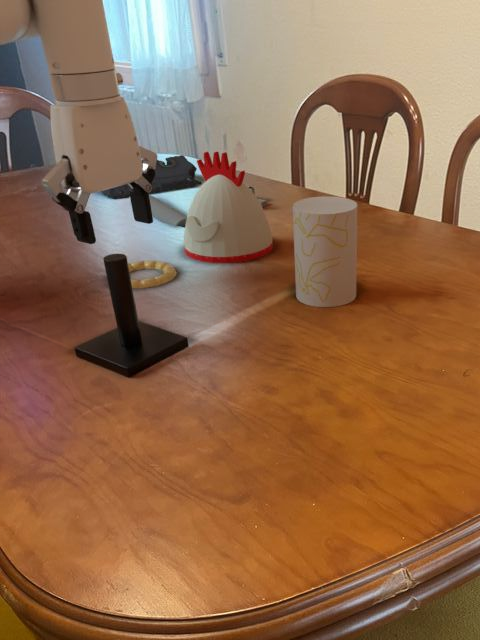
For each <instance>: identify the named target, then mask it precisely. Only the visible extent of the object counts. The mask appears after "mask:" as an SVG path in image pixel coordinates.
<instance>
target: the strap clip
mask: <svg viewBox="0 0 480 640" xmlns="http://www.w3.org/2000/svg"><path fill="white" fill-rule="evenodd" d="M246 186H247V187H248V188H249V189H250V190H251V191H252V192H253V193H254V195H255V196H256V192H255V187H254V186H249V185H246ZM257 199H258V200H259V202H261V204H262V208H263V207H265V206H266V205H267V203H268V201H267V199H263V198H257Z"/></svg>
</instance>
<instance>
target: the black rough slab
mask: <svg viewBox="0 0 480 640" xmlns="http://www.w3.org/2000/svg"><path fill="white" fill-rule="evenodd" d="M141 160H142V159H141ZM164 160H165V161H166V162H165V161H163V160H159V159H157V162H156V168H155V169H154V170H155V177H154V179H153V181H152V184H151V186H152V190H151V192H149V195H153V194H159V193H166V192H172V191H178V190H185V189H189V188H195V187H197V186H198V185H202V181H201V180H198V179H196V178H195V177H196V172H197V169H198V168H197V166H195V165H194V163H192V162H191V161H189V160H188V159H187V158H186V157H185V155H183V154H181V155H173V156H169V157H165V159H164ZM142 168H143V160H142ZM130 191H133V189H132V188H131V187H130V186H129V185H128V184H125V185H121V186H118V187H114V188H111V189H107V190H104V191H100V192H99V193H101V194H102V195H103V196H105V197H108V198H111V199H114V198H130Z"/></svg>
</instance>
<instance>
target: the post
mask: <svg viewBox="0 0 480 640" xmlns="http://www.w3.org/2000/svg"><path fill="white" fill-rule="evenodd" d="M127 257H128V256H127V255H126V254H124V253H111V254H107V255H104V257H103V258H102V260H103V265H104V270H105V274H106V279H107V280H106V281H107V284H108V289H109V294H110V299H111V304H112V309H113V312H114V319H115V323H116V327H115V328H113V329H112V330H109V331H107V332H105V333H103V334H99V336H96V337H94V338H91V339H90V340H87V341H84V342H83V343H81V344H79V345H76V346H74V347H73V348H74V352H75V356H76V357H77V358H80V359H81V360H84V361H87V362H89V363H91V364H94V365H96V366H99V367H102V368H104V369H106V370H109V371H111V372H114V373H116V374H118V375H121V376H123V377H126V378H131V377H133V376H136V375H137V374H139V373H141V372H143V371H145V370H146V369H148V368H150V367H152V366H154V365H156V364H158V363H160V362H162V361H164V360H165V359H168V358H169V357H171V356H173V355H175V354H177V353H179V352H181V351H183V350H185V349H186V348H189V339H188V337H187V336H184V335H182V334H179V333H176V332H172V331H170V330H166V329H163V328H161V327H158V326H155V325H151V324H149V323H146V322H143V321H140V320H139V316H138V311H137V305H136V300H135V295H134V288H132V284H131V280H132V278H131V274H130V273H131V272H129V267H128V264H129V263H128V258H127Z"/></svg>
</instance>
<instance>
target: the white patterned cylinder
mask: <svg viewBox="0 0 480 640" xmlns="http://www.w3.org/2000/svg"><path fill="white" fill-rule="evenodd" d="M292 225H293V226H292V228H293V249H294V250H293V253H294V274H295V275H294V276H295V297H296V299H297V300H298V302H300V303H301V304H303V305H306V306H310V307H316V308H334V307H335V308H336V307H341V306H345V305H348V304H350V303H352V302H353V301H354V300H355V299H356V298H357V271H358V270H357V268H358V267H357V265H358V264H357V262H358V260H357V258H358V257H357V256H358V203H357V202H356V201H355V200H353V199H351V198H347V197H340V196H328V195H327V196H313V197H307V198H303V199H302V198H301V199H299V200H297V201H295V202H294V203H293V204H292Z"/></svg>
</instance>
